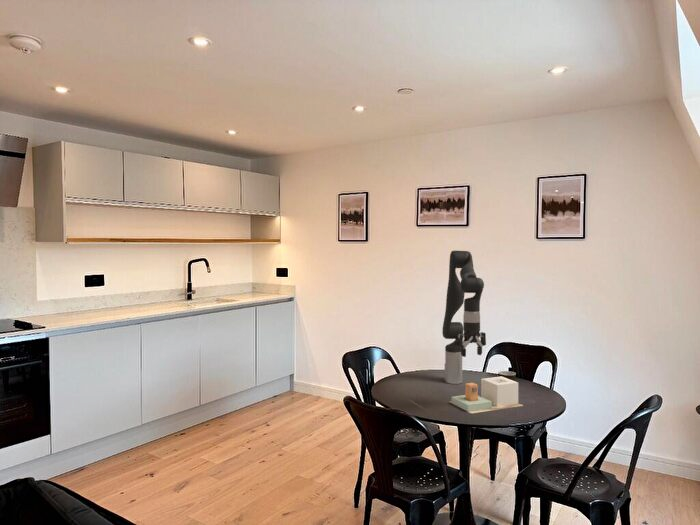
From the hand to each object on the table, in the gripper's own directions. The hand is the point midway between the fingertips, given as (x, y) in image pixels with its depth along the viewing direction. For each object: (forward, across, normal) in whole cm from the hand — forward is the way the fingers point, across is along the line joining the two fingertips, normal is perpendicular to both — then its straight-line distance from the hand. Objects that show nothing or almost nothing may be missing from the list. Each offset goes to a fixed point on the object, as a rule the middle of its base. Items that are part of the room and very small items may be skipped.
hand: (471, 355), depth 222 cm
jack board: (+24, -8, 0) cm, 26 cm away
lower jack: (+23, 0, 0) cm, 23 cm away
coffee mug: (+25, -30, -14) cm, 41 cm away
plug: (+23, 0, 0) cm, 23 cm away
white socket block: (+23, -16, 0) cm, 28 cm away
